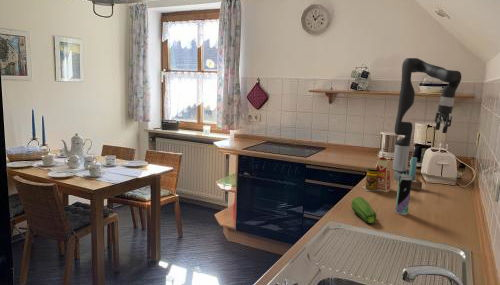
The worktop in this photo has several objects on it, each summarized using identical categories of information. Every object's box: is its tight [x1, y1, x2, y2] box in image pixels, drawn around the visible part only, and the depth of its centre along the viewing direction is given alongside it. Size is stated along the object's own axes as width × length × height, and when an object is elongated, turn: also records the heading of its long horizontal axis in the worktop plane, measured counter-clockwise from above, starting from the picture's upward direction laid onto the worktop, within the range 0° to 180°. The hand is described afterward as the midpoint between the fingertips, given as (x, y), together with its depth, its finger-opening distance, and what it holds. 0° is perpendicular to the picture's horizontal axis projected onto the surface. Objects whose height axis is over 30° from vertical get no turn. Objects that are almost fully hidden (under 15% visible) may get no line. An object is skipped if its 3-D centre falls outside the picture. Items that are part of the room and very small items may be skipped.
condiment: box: [362, 167, 380, 192], centre depth 213 cm, size 7×8×12 cm
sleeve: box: [393, 170, 404, 182], centre depth 236 cm, size 11×6×5 cm, turn 179°
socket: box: [411, 178, 423, 191], centre depth 219 cm, size 6×6×5 cm
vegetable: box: [350, 196, 377, 224], centre depth 169 cm, size 7×7×20 cm
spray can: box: [394, 170, 412, 216], centre depth 176 cm, size 6×6×20 cm
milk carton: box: [375, 154, 391, 193], centre depth 214 cm, size 9×9×20 cm
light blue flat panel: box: [408, 156, 418, 182], centre depth 225 cm, size 15×3×16 cm, turn 179°
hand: (440, 131), depth 230 cm, fingers open, 8 cm apart
